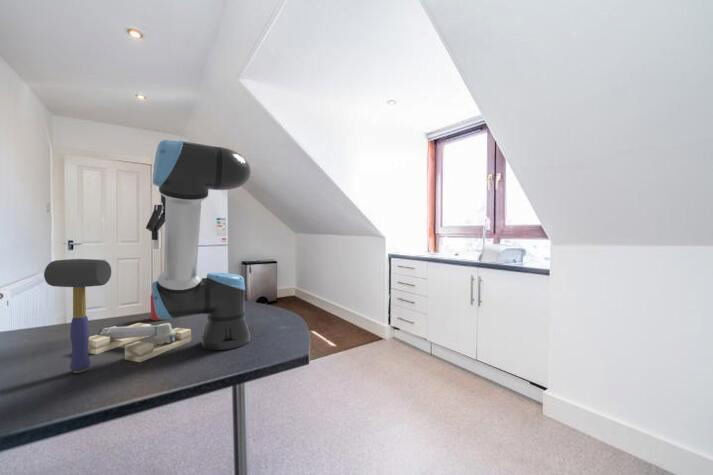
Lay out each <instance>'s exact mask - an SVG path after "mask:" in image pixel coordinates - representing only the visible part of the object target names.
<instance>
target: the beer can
mask: <svg viewBox="0 0 713 475" xmlns="http://www.w3.org/2000/svg"><path fill="white" fill-rule="evenodd" d="M150 320H151V321H154V322H157V321H159V322H160V321H164V320H166V319H159V318H158V317H157V316H156V312H155V307H154V300H153V293H152V292H151V294H150Z"/></svg>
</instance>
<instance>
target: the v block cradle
mask: <svg viewBox="0 0 713 475" xmlns="http://www.w3.org/2000/svg"><path fill="white" fill-rule="evenodd" d="M129 326H152V324H150V323H143V322H137V323H133V324H130V325H127V327H129ZM172 331H176V334H175V341H173V342H170V343H167V342H166V343H164V344H160V345H158V344H156V342H155V343H152V342H146V341H145V342H144V341H140V340H142V339H145V338H148V337H149V336H142V337H133V338H123V339H115V340H113V341H110V337H106V336H100V335H98V334H95V335H91V336H89V340H88V354H90V355H91V354H93V355H99V354H101V353H104V352H107V351H110V350H113V349H115V348H116V349H117V348H119V347H122V346H124V360H125V361H132V362H137V363H142V362H144V361H146V360H149V359H151V358H154V357H156V356H157V357H158V356H159V355H161V354H163V353H166V352H169V351H171V350H173V349H175V348H178V347H180V346H182V345H186V344H187V343H190V342H192V329H190V328H183V327H175V328H172Z"/></svg>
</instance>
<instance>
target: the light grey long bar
mask: <svg viewBox="0 0 713 475" xmlns="http://www.w3.org/2000/svg"><path fill="white" fill-rule="evenodd" d="M128 326H129V327H128ZM128 326H116V325H113V326H110V327H104V328H102V329H100V330H99V332H98V333H97V335H100V336H106V337H110V341H113V340H115V339H123V338H133V337H142V336H148V337H151V336H153V339H155V343H156V344H158V345H160V344H164V343H166V342H167V343H170V342H173V341H175V334H176V331H172V329H173V328H172V327H173V326H172V324H171V322H165V323H160V324H156V325H151V326H130V325H128Z"/></svg>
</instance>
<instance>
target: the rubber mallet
mask: <svg viewBox="0 0 713 475" xmlns="http://www.w3.org/2000/svg"><path fill="white" fill-rule="evenodd" d="M43 272H44V274H43V277H44V281H45V282H46V284H48V285H49V286H51V287H58V288H59V287H60V288H72V319H71V322H70V331H69V333H70V342H71V361H70V366H69V367H70V370H71V371H72V372H73V373H74V374H77V373H78V374H79V373H83V372H85V371H87V370H88V368H89V367H90V365H91V360H90V355H89V353H88V340H89V337H90V325H89V318H88V316H87V310H86V308H87V306H86V305H87V304H86V301H87V300H86V299H87V298H86V288H87V287H99V286H100V287H103V286H104V285H106V284H107V283H108V282H109V281H110V279H111V277H112V266H111V264H110V263H109V262H108V261H107V260H105V259H94V258H93V259H90V258H87V259H86V258H72V259H68V258H67V259H56V260H53V261H51V262H49V263H48V264H47V265H46V266H45V269H44V271H43Z"/></svg>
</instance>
